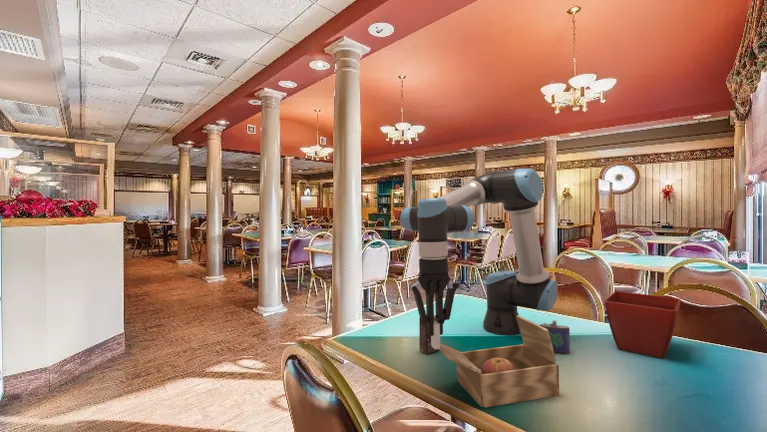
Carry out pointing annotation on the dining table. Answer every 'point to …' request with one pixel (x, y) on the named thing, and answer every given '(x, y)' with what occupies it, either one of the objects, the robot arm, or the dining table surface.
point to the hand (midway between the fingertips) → (435, 347)
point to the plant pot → (642, 322)
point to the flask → (559, 337)
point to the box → (425, 338)
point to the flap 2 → (536, 338)
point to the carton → (509, 376)
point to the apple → (497, 366)
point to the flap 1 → (457, 357)
